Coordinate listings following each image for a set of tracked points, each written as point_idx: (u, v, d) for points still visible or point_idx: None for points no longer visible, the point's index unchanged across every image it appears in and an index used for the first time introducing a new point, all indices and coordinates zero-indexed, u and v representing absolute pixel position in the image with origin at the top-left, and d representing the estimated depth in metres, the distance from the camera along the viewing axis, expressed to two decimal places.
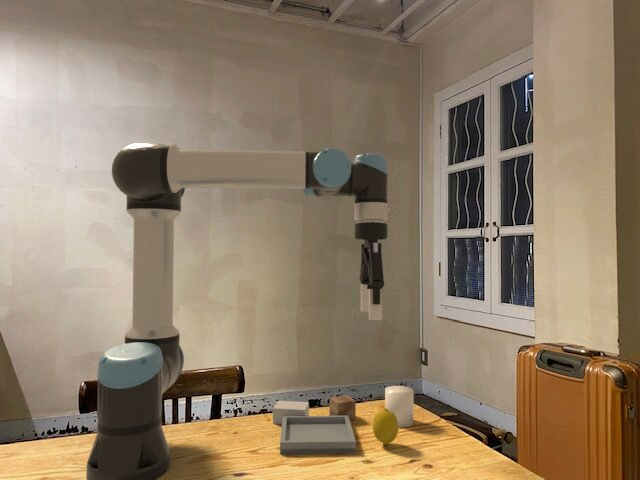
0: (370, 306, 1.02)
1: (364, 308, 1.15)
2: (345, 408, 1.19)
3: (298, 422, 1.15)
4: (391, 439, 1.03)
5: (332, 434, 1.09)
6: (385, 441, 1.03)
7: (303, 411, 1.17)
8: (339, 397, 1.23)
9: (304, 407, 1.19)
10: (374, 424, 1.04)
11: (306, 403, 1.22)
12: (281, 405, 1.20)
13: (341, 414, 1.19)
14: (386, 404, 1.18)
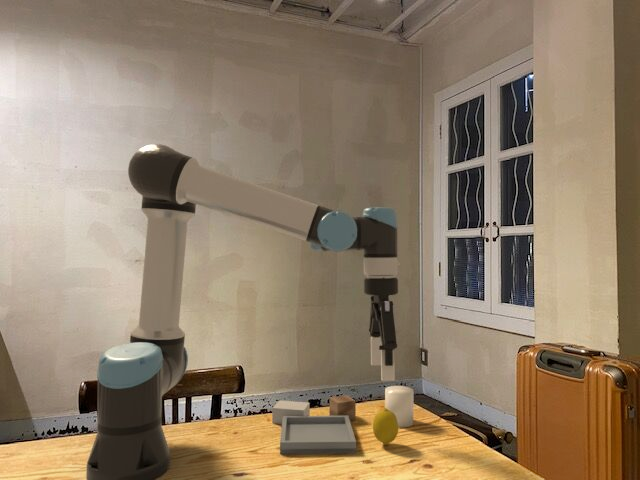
0: (383, 367, 0.99)
1: (374, 361, 1.13)
2: (345, 408, 1.19)
3: (298, 422, 1.15)
4: (391, 439, 1.03)
5: (332, 434, 1.09)
6: (385, 441, 1.03)
7: (302, 411, 1.17)
8: (339, 397, 1.23)
9: (303, 407, 1.18)
10: (374, 424, 1.04)
11: (306, 403, 1.21)
12: (281, 405, 1.20)
13: (341, 414, 1.19)
14: (386, 404, 1.18)
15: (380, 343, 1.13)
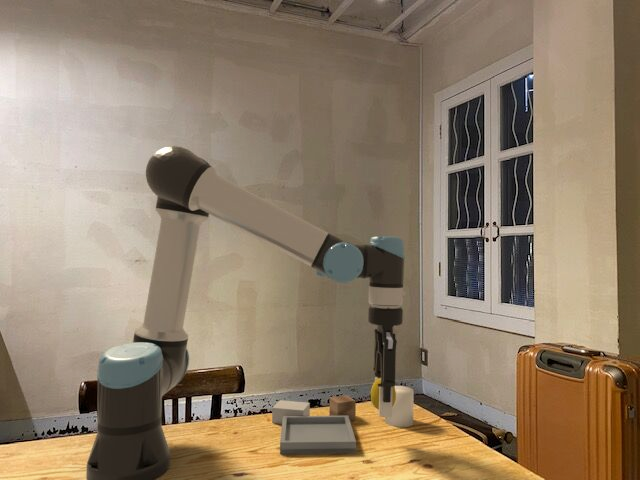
0: (381, 403, 1.02)
1: None
2: (345, 408, 1.19)
3: (298, 422, 1.15)
4: None
5: (332, 434, 1.09)
6: None
7: (301, 411, 1.17)
8: (339, 397, 1.23)
9: (303, 407, 1.18)
10: (372, 391, 1.05)
11: (306, 403, 1.21)
12: (281, 404, 1.21)
13: (341, 414, 1.19)
14: None
15: None
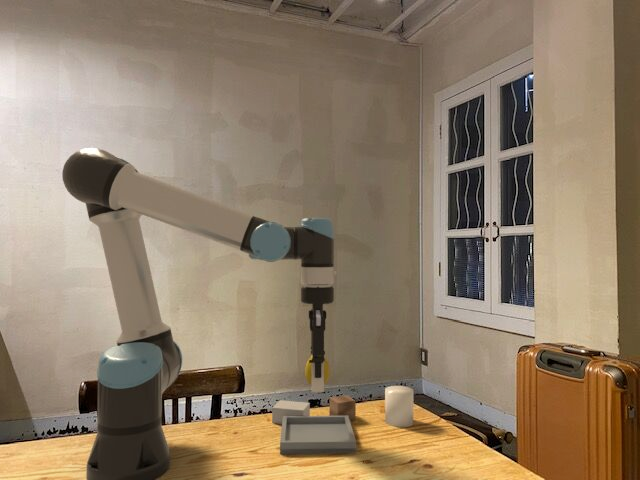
0: (313, 379, 1.05)
1: None
2: (345, 408, 1.19)
3: (298, 422, 1.15)
4: None
5: (332, 434, 1.09)
6: None
7: (301, 411, 1.17)
8: (339, 397, 1.23)
9: (303, 407, 1.18)
10: (306, 368, 1.08)
11: (306, 404, 1.21)
12: (281, 404, 1.21)
13: (341, 414, 1.19)
14: (386, 404, 1.18)
15: None
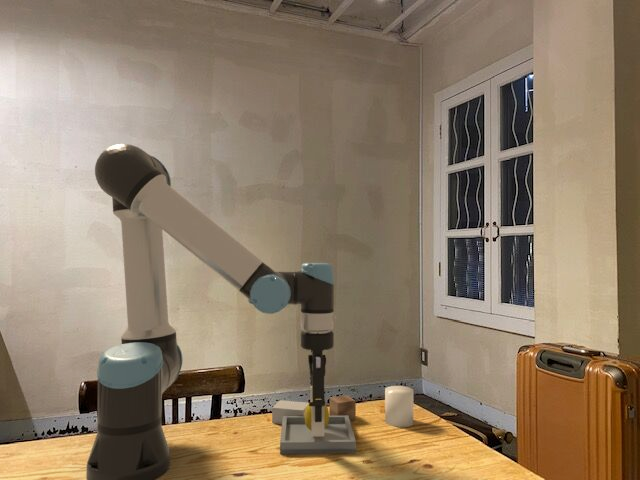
0: (313, 423, 1.01)
1: None
2: (345, 408, 1.19)
3: (298, 422, 1.15)
4: None
5: (332, 434, 1.09)
6: None
7: (301, 411, 1.17)
8: (339, 397, 1.23)
9: (303, 407, 1.18)
10: (305, 414, 1.08)
11: (306, 403, 1.21)
12: (281, 404, 1.21)
13: (341, 414, 1.19)
14: (386, 404, 1.18)
15: None
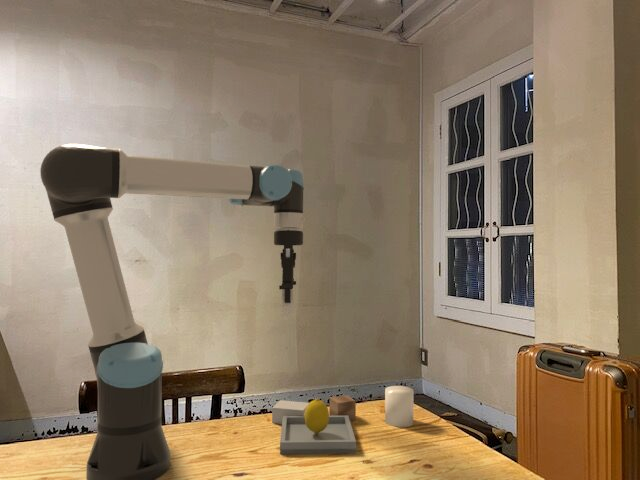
0: (283, 304, 1.16)
1: None
2: (345, 408, 1.19)
3: (298, 422, 1.15)
4: (321, 428, 1.06)
5: (332, 434, 1.09)
6: (315, 430, 1.07)
7: (301, 411, 1.17)
8: (339, 397, 1.23)
9: (303, 407, 1.18)
10: (305, 414, 1.08)
11: (306, 403, 1.21)
12: (281, 404, 1.21)
13: (341, 414, 1.19)
14: (386, 404, 1.18)
15: None
